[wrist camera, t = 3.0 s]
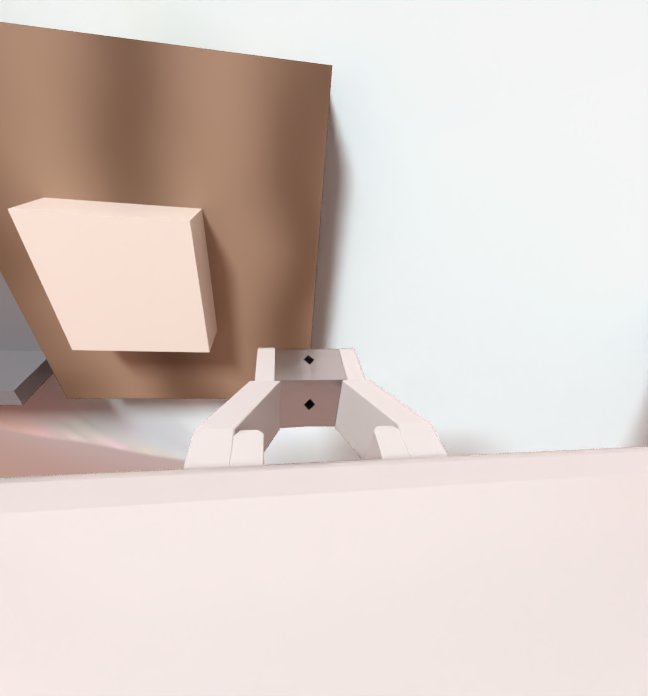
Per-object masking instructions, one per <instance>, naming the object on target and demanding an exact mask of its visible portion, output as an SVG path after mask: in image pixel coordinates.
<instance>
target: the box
mask: <svg viewBox="0 0 648 696" xmlns="http://www.w3.org/2000/svg"><path fill="white" fill-rule="evenodd" d="M52 373H53V370H52V368H51V367H50V365H49V363H48V361H47V359H46V357H45V355H44V353H43V351H42V350H41V348H40V346H39V344H38V342H37V340H36V338H35V336H34V334H33V332H32V331H31V329H30V327H29V325H28V323H27V321H26V319H25V317H24V315H23V314H22V312H21V310H20V308H19V306H18V304H17V302H16V300H15V298H14V297H13V295H12V293H11V291H10V289H9V287H8V285H7V283H6V281H5V279H4V278H3V276H2V274H1V272H0V405H23V404H24V403H25V402H26V401H27V400H28V399H29V398H30V397H31V396H32V395H33V394H34V393H35V391H36V390H37V389H38V388H39V387H40V386H41V385H42V384H43V383H44V382H45V381H46V380H47V379H48V378H49V377H50V376H51V374H52Z"/></svg>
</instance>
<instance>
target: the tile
mask: <svg viewBox="0 0 648 696" xmlns="http://www.w3.org/2000/svg"><path fill="white" fill-rule="evenodd" d="M8 211H9V213H10V215H11V218H12V220H13V222H14V224H15V226H16V228H17V231H18V233H19V235H20V237H21V239H22V242H23V244H24V246H25V248H26V250H27V252H28V255H29V257H30V259H31V261H32V263H33V266H34V268H35V270H36V272H37V274H38V276H39V279H40V281H41V283H42V285H43V287H44V289H45V292H46V294H47V296H48V298H49V300H50V303H51V305H52V307H53V309H54V311H55V313H56V316H57V318H58V320H59V322H60V324H61V327H62V329H63V331H64V333H65V335H66V337H67V340H68V342H69V344H70V346H71V348H72V350H95V351H153V352H210V350H211V347H212V344H213V341H214V338H215V335H216V332H217V324H216V316H215V308H214V300H213V292H212V284H211V276H210V269H209V261H208V253H207V245H206V237H205V229H204V221H203V213H202V209H199V208H184V207H170V206H156V205H142V204H128V203H114V202H100V201H86V200H72V199H58V198H41V199H38V200H34V201H31V202H28V203H25V204H22V205H18V206H15V207H12V208H9V209H8Z"/></svg>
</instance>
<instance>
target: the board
mask: <svg viewBox="0 0 648 696" xmlns="http://www.w3.org/2000/svg"><path fill="white" fill-rule="evenodd" d="M331 75H332V65H324V64H317V63H309V62H302V61H294V60H286V59H279V58H271V57H263V56H256V55H248V54H241V53H233V52H225V51H218V50H210V49H202V48H195V47H187V46H179V45H172V44H164V43H157V42H149V41H141V40H134V39H126V38H118V37H111V36H103V35H95V34H88V33H80V32H73V31H65V30H57V29H50V28H42V27H34V26H27V25H19V24H12V23H4V22H0V272H1V274H2V276H3V278H4V279H5V281H6V283H7V285H8V287H9V289H10V291H11V293H12V295H13V297H14V298H15V300H16V302H17V304H18V306H19V308H20V310H21V312H22V314H23V315H24V317H25V319H26V321H27V323H28V325H29V327H30V329H31V331H32V332H33V334H34V336H35V338H36V340H37V342H38V344H39V346H40V348H41V350H42V351H43V353H44V355H45V357H46V359H47V361H48V363H49V365H50V367H51V368H52V370H53V372H54V374H55V376H56V378H57V380H58V382H59V384H60V386H61V387H62V389H63V391H64V393H65V395H66V397H67V398H231V397H232V396H234V395H235V394H236V393H237V392H238V391H239V390H240V389H241V388H243V387H244V386H245V385H246V384H247V383H248V382H249V381H255V373H256V362H257V351H258V348H303V349H310V348H311V335H312V322H313V309H314V296H315V283H316V270H317V257H318V244H319V231H320V218H321V205H322V192H323V179H324V166H325V153H326V140H327V127H328V114H329V101H330V88H331ZM41 198H58V199H72V200H86V201H100V202H114V203H128V204H142V205H156V206H170V207H184V208H199V209H202V213H203V221H204V229H205V237H206V245H207V253H208V261H209V269H210V276H211V284H212V292H213V300H214V308H215V316H216V324H217V332H216V335H215V338H214V341H213V344H212V347H211V350H210V352H153V351H95V350H72V348H71V346H70V344H69V342H68V340H67V337H66V335H65V333H64V331H63V329H62V327H61V324H60V322H59V320H58V318H57V316H56V313H55V311H54V309H53V307H52V305H51V303H50V300H49V298H48V296H47V294H46V292H45V289H44V287H43V285H42V283H41V281H40V279H39V276H38V274H37V272H36V270H35V268H34V266H33V263H32V261H31V259H30V257H29V255H28V252H27V250H26V248H25V246H24V244H23V242H22V239H21V237H20V235H19V233H18V231H17V228H16V226H15V224H14V222H13V220H12V218H11V215H10V213H9V211H8V209H9V208H12V207H15V206H18V205H22V204H25V203H28V202H31V201H34V200H38V199H41Z"/></svg>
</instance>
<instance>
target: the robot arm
mask: <svg viewBox="0 0 648 696" xmlns="http://www.w3.org/2000/svg"><path fill="white" fill-rule="evenodd" d="M304 426H335V428H336V429H337V430H338V432H339V433H340V434H341V435H342V436H343V437H344V439H345V440H346V441H347V442H348V443H349V444H350V445H351V447H352V448H353V449H354V450H355V451H356V452H357V453H358V455H359V456H360V457H361V458H362V459H363V460H352V461H332V462H311V463H291V464H270V465H264V452H265V450H266V449H267V447H268V446H269V444H270V443H271V441H272V440H273V438H274V437H275V435H276V434H277V432H278V431H279V430H280V428H287V427H304ZM0 696H648V446H644V447H624V448H603V449H582V450H561V451H540V452H519V453H499V454H480V455H460V456H448V454H447V453H446V451H445V449H444V447H443V445H442V443H441V441H440V439H439V437H438V435H437V433H436V431H435V430H434V428H433V426H432V424H431V423H430V422H429V421H427V420H426V419H424V418H423V417H421V416H420V415H419V414H417V413H416V412H414V411H413V410H412V409H410V408H409V407H407V406H406V405H405V404H403V403H402V402H400V401H399V400H398V399H396V398H395V397H393V396H392V395H391V394H389V393H388V392H386V391H385V390H383V389H382V388H381V387H379V386H378V385H376V384H375V383H374V382H372V381H371V380H366V379H365V377H364V374H363V371H362V368H361V366H360V363H359V360H358V357H357V355H356V352H355V349H353V348H338V349H303V348H258V351H257V362H256V373H255V381H249V382H248V383H247V384H246V385H245V386H244V387H243V388H241V389H240V390H239V391H238V392H237V393H236V394H235V395H234V396H232V397H231V398H230V399H229V400H228V401H227V402H226V403H225V404H223V405H222V406H221V407H220V408H219V409H218V410H217V411H215V412H214V413H213V414H212V415H211V416H210V417H209V418H208V419H206V420H205V421H204V422H203V423H202V424H201V425H200V426H199V427H197V428H196V429H195V430H194V433H193V437H192V440H191V444H190V447H189V451H188V454H187V458H186V461H185V465H184V468H183V469H167V470H147V471H146V470H145V471H127V472H126V471H125V472H104V473H85V474H84V473H83V474H63V475H42V476H23V477H21V476H20V477H0Z"/></svg>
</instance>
